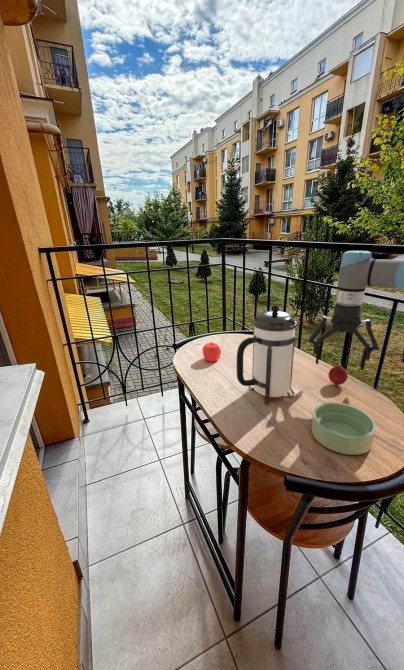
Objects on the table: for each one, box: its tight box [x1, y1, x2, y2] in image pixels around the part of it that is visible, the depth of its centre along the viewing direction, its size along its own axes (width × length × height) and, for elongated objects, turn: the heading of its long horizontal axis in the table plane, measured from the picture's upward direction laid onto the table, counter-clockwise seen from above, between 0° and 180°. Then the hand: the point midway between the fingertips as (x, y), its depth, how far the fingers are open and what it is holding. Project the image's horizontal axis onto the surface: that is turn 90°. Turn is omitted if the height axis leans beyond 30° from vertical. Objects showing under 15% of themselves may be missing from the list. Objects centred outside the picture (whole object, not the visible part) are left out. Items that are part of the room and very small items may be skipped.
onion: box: [328, 363, 349, 386], centre depth 95 cm, size 6×6×8 cm
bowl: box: [310, 402, 377, 456], centre depth 72 cm, size 14×14×6 cm
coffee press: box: [236, 304, 298, 405], centre depth 87 cm, size 17×16×30 cm
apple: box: [201, 341, 222, 363], centre depth 118 cm, size 8×8×8 cm
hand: (338, 365), depth 94 cm, fingers open, 13 cm apart
